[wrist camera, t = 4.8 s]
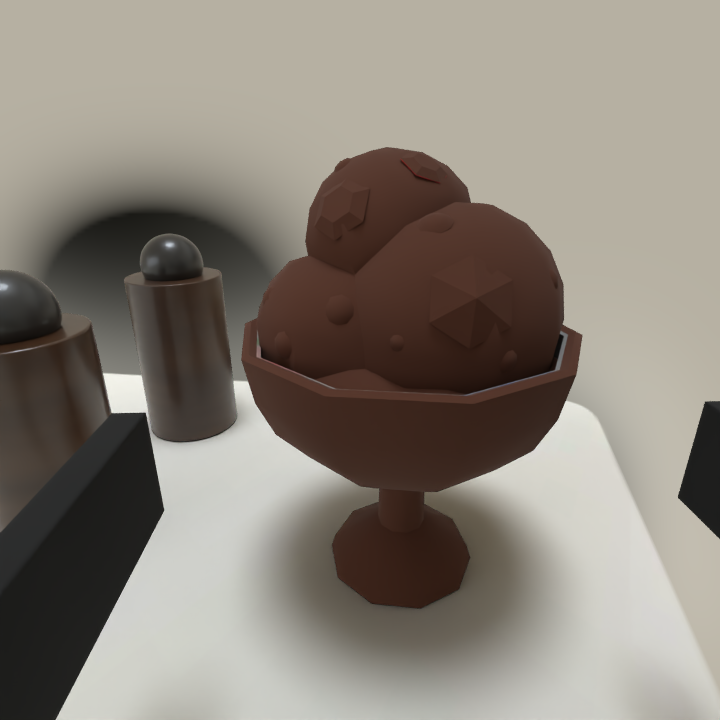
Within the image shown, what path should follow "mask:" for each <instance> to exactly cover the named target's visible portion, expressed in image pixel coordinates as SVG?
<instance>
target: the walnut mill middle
mask: <svg viewBox="0 0 720 720" xmlns="http://www.w3.org/2000/svg"><path fill="white" fill-rule="evenodd" d="M111 414H112V413H111V408H110V404H109V399H108V395H107V390H106V386H105V381H104V376H103V372H102V367H101V363H100V358H99V354H98V349H97V344H96V340H95V335H94V331H93V326H92V323H91V321H90V320H89V319H88V318H86V317H84V316H81V315H76V314H68V313H61V308H60V305H59V302H58V300H57V298H56V296H55V295H54V293H53V292H52V291H51V290H50V289H49V288H48V287H47V286H46V285H45V284H44V283H42V282H41V281H39V280H38V279H36V278H34V277H32V276H30V275H28V274H25V273H22V272H18V271H12V270H0V532H1V531H2V530H3V529H4V528H5V527H6V526H7V525H8V524H9V523H10V522H11V521H12V520H13V519H14V517H15V516H16V515H17V514H18V513H19V512H20V511H21V510H22V509H23V508H24V507H25V506H26V505H27V504H28V503H29V501H30V500H31V499H32V498H33V497H34V496H35V495H36V494H37V493H38V492H39V491H40V490H41V489H42V488H43V486H44V485H45V484H46V483H47V482H48V481H49V480H50V479H51V478H52V477H53V476H54V475H55V474H56V473H57V472H58V470H59V469H60V468H61V467H62V466H63V465H64V464H65V463H66V462H67V461H68V460H69V459H70V458H71V457H72V456H73V454H74V453H75V452H76V451H77V450H78V449H79V448H80V447H81V446H82V445H83V444H84V443H85V442H86V441H87V439H88V438H89V437H90V436H91V435H92V434H93V433H94V432H95V431H96V430H97V429H98V428H99V427H100V426H101V425H102V423H103V422H104V421H105V420H106V419H107V418H108V417H109V416H110V415H111Z"/></svg>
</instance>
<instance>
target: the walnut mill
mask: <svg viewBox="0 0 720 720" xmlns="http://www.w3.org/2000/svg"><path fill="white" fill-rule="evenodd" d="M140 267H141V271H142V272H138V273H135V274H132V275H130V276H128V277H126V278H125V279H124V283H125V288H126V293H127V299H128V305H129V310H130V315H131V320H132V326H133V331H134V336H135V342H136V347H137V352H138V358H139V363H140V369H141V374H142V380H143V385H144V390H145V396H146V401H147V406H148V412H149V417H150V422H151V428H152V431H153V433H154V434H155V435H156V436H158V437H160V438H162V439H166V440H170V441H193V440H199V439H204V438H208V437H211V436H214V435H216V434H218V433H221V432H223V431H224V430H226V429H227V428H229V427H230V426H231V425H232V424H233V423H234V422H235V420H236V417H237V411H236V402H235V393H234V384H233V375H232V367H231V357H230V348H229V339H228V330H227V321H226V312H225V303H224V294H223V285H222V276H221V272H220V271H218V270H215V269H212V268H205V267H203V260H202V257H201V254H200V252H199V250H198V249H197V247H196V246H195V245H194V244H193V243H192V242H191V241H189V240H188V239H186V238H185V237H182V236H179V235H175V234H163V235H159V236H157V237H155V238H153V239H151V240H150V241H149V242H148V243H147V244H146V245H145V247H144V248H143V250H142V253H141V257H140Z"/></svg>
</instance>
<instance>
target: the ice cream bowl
mask: <svg viewBox="0 0 720 720" xmlns="http://www.w3.org/2000/svg"><path fill="white" fill-rule="evenodd" d="M305 242H306V247H307V252H308V256H306V257H302V258H299V259H296V260H292V261H289V262H288V264H287V265H286V266H285V267H284V268H283V269H282V270H281V271H280V272H279V273H278V274H277V275H276V276H275V277H274V278H273V280H272V281H271V282H270V284H269V286H268V289H267V291H266V292H265V293H264V296H263V300H262V302H261V304H260V307H259V312H258V318H257V319H254V320H252V321H250V322H248V323H246V324H245V329H244V340H243V348H242V359H241V360H242V363H243V366H244V370H245V372H246V376H247V379H248V382H249V385H250V388H251V391H252V394H253V398H254V401H255V404H256V405H257V407H258V408H259V410H260V411H261V413H262V414H263V416H264V417H265V419H266V420H267V422H268V423H269V425H270V426H271V428H272V429H273V431H274V432H275V434H276V435H277V436H279V437H280V438H282V439H283V440H285V441H286V442H288V443H289V444H291V445H292V446H294V447H295V448H297V449H298V450H300V451H301V452H303V453H304V454H306V455H307V456H309V457H310V458H312V459H314V460H315V461H317V462H319V463H321V464H322V465H324V466H326V467H328V468H329V469H331V470H333V471H335V472H336V473H338V474H340V475H342V476H343V477H345V478H347V479H349V480H350V481H352V482H354V483H355V484H357V485H359V486H361V487H370V488H379V502H377V503H374V504H371V505H368V506H366V507H363V508H360V509H357V510H355V511H353V512H352V513H351V515H350V516H349V517H348V519H347V520H346V521H345V523H344V524H343V525H342V527H341V528H340V530H339V531H338V532H337V534H336V535H335V538H334V541H333V543H332V548H333V554H334V559H335V564H336V570H337V575H338V578H339V579H341V580H342V581H343V582H344V583H346V584H347V585H348V586H350V587H351V588H352V589H354V590H355V591H356V592H358V593H359V594H360V595H361V596H363V597H364V598H365V599H367V600H368V601H369V602H371V603H373V604H383V605H392V606H402V607H412V608H422V607H424V606H426V605H428V604H430V603H432V602H434V601H436V600H438V599H440V598H442V597H444V596H446V595H448V594H450V593H452V592H454V591H456V590H458V589H459V588H460V585H461V582H462V579H463V576H464V573H465V570H466V568H467V565H468V562H469V559H470V556H469V552H468V549H467V546H466V544H465V542H464V540H463V538H462V536H461V535H460V533H459V531H458V529H457V527H456V525H455V523H454V522H453V520H452V519H451V518H449V517H448V516H446V515H444V514H442V513H440V512H438V511H436V510H435V509H433V508H431V507H429V506H427V505H425V504H424V492H438V491H441V490H443V489H446V488H449V487H451V486H454V485H457V484H459V483H462V482H465V481H467V480H470V479H473V478H475V477H478V476H481V475H483V474H486V473H489V472H491V471H494V470H496V469H498V468H500V467H502V466H504V465H506V464H508V463H510V462H512V461H514V460H516V459H518V458H520V457H522V456H524V455H526V454H528V453H529V452H531V451H533V450H534V449H535V448H536V446H537V445H538V444H539V443H540V441H541V440H542V439H543V438H544V436H545V435H546V434H547V433H548V431H549V430H550V429H551V428H552V427H553V425H554V424H555V423H556V422H557V420H558V418H559V416H560V413H561V411H562V408H563V406H564V404H565V401H566V399H567V396H568V394H569V391H570V389H571V386H572V384H573V382H574V379H575V377H576V373H577V368H578V361H579V355H580V347H581V341H582V335H581V334H579V333H577V332H576V331H574V330H572V329H570V328H567V327H566V326H564V325H562V324H563V321H564V297H563V296H564V294H563V293H564V291H563V282H562V280H561V277H560V274H559V272H558V269H557V266H556V264H555V261H554V259H553V256H552V253H551V251H550V250H549V249H548V248H547V247H546V245H545V244H544V243H543V242H542V241H541V240H540V238H539V237H538V236H537V235H536V234H535V233H534V232H533V231H532V230H531V228H530V227H529V226H528V225H527V224H526V223H525V222H523V221H521V220H519V219H517V218H515V217H513V216H512V215H510V214H508V213H506V212H504V211H502V210H501V209H499V208H497V207H495V206H493V205H489V204H481V203H471V202H470V197H469V193H468V189H467V187H466V186H465V184H464V183H463V182H462V181H461V180H460V179H459V178H458V177H457V176H456V175H455V173H454V172H453V171H452V170H451V169H450V168H449V167H448V166H447V165H445V164H443V163H441V162H439V161H437V160H436V159H433V158H432V157H430V156H428V155H426V154H424V153H423V152H417V151H410V150H404V149H398V148H389V147H386V148H381V149H378V150H373V151H369V152H367V153H364V154H361V155H358V156H355V157H353V158H351V159H350V158H346V159H344V160H343V161H340V162H339V163H338V165H337V166H336V167H335V170H334V172H333V173H332V174H331V175H330V176H329V177H328V178H327V179H326V180H325V181H323V183H322V184H321V187H320V188H319V191H318V193H317V195H316V197H315V199H314V201H313V203H312V205H311V207H310V210H309V218H308V225H307V233H306V241H305Z"/></svg>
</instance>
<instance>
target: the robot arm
mask: <svg viewBox="0 0 720 720" xmlns="http://www.w3.org/2000/svg"><path fill="white" fill-rule="evenodd" d="M678 498H679V499H680V500H681V501H682V502H683V503H684V504H685V505H686V506H687V507H688V508H689V509H690V510H691V511H692V512H693V513H694V514H695V515H696V516H697V517H698V518H699V519H700V520H701V521H702V522H703V523H704V524H705V525H706V526H707V527H708V528H709V529H710V530H711V531H712V532H713V533H714V534H715V535H716V536H717V537H719V539H720V401H712V402H711V401H710V402H705V404H704V408H703V411H702V414H701V418H700V421H699V425H698V428H697V432H696V436H695V439H694V442H693V446H692V449H691V453H690V456H689V460H688V463H687V467H686V470H685V474H684V477H683V481H682V484H681V488H680V491H679V495H678ZM163 512H164V507H163V502H162V496H161V491H160V486H159V481H158V475H157V470H156V465H155V459H154V454H153V449H152V444H151V438H150V433H149V428H148V422H147V417H146V413H112V414H111V415H110V416H109V417H108V418H107V419H106V420H105V421H104V422H103V423H102V425H101V426H100V427H99V428H98V429H97V430H96V431H95V432H94V433H93V434H92V435H91V436H90V437H89V438H88V439H87V441H86V442H85V443H84V444H83V445H82V446H81V447H80V448H79V449H78V450H77V451H76V452H75V453H74V454H73V456H72V457H71V458H70V459H69V460H68V461H67V462H66V463H65V464H64V465H63V466H62V467H61V468H60V469H59V470H58V472H57V473H56V474H55V475H54V476H53V477H52V478H51V479H50V480H49V481H48V482H47V483H46V484H45V485H44V486H43V488H42V489H41V490H40V491H39V492H38V493H37V494H36V495H35V496H34V497H33V498H32V499H31V500H30V501H29V503H28V504H27V505H26V506H25V507H24V508H23V509H22V510H21V511H20V512H19V513H18V514H17V515H16V516H15V517H14V519H13V520H12V521H11V522H10V523H9V524H8V525H7V526H6V527H5V528H4V529H3V530H2V531H1V532H0V720H56V718H57V716H58V714H59V712H60V710H61V708H62V706H63V704H64V702H65V700H66V699H67V697H68V695H69V693H70V691H71V689H72V687H73V685H74V683H75V681H76V679H77V677H78V675H79V674H80V672H81V670H82V668H83V666H84V664H85V662H86V660H87V658H88V656H89V654H90V652H91V650H92V649H93V647H94V645H95V643H96V641H97V639H98V637H99V635H100V633H101V631H102V629H103V627H104V625H105V624H106V622H107V620H108V618H109V616H110V614H111V612H112V610H113V608H114V606H115V604H116V602H117V600H118V598H119V597H120V595H121V593H122V591H123V589H124V587H125V585H126V583H127V581H128V579H129V577H130V575H131V573H132V572H133V570H134V568H135V566H136V564H137V562H138V560H139V558H140V556H141V554H142V552H143V550H144V548H145V547H146V545H147V543H148V541H149V539H150V537H151V535H152V533H153V531H154V529H155V527H156V525H157V523H158V521H159V520H160V518H161V516H162V514H163Z"/></svg>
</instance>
